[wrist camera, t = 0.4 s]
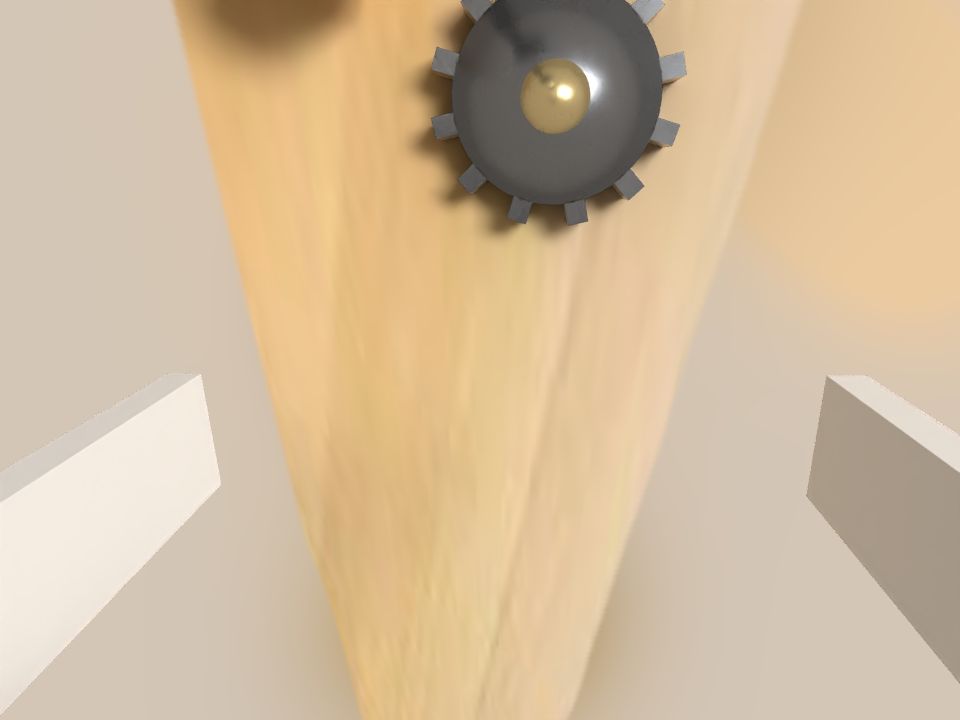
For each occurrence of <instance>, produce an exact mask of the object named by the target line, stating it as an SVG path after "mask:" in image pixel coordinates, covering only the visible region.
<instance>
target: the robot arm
mask: <svg viewBox="0 0 960 720" xmlns="http://www.w3.org/2000/svg"><path fill="white" fill-rule="evenodd" d="M208 416H209V415H208V410H207V405H206V399H205V394H204V388H203V384H202V378H201V374H166V375H165V376H163V377H161V378H159V379H157V380H156V381H154V382H152V383H151V384H149V385H147V386H145V387H144V388H142V389H140V390H139V391H137V392H135V393H133V394H132V395H130V396H128V397H127V398H125V399H123V400H122V401H120V402H118V403H116V404H115V405H113V406H111V407H110V408H108V409H107V410H105V411H103V412H101V413H99V414H98V415H96V416H94V417H92V418H91V419H89V420H87V421H86V422H84V423H82V424H81V425H79V426H77V427H75V428H74V429H72V430H70V431H69V432H67V433H65V434H64V435H62V436H60V437H58V438H57V439H55V440H53V441H51V442H50V443H48V444H46V445H45V446H43V447H41V448H40V449H38V450H37V451H34V452H33V453H31V454H29V455H28V456H26V457H24V458H22V459H21V460H19V461H17V462H16V463H14V464H12V465H11V466H9V467H7V468H5V469H4V470H2V471H0V715H1V714H2V713H3V712H4V711H5V710H6V709H7V708H8V706H10V704H11V703H12V702H13V701H14V700H15V699H16V698H17V697H18V696H19V695H20V694H21V693H22V692H23V691H24V690H25V689H26V688H27V687H28V686H29V685H30V683H32V682H33V680H34V679H35V678H36V677H37V676H38V675H39V674H40V673H41V672H42V671H43V670H44V669H45V668H46V667H47V666H48V665H49V664H50V663H51V662H52V661H53V660H54V659H55V658H56V656H57V655H58V654H59V653H60V652H61V651H62V650H63V649H64V648H65V647H66V646H67V645H68V644H69V643H70V642H71V641H72V640H73V639H74V638H75V636H77V635H78V634H79V632H80V631H81V630H82V629H83V628H84V627H85V626H86V625H87V624H88V623H89V622H90V621H91V620H92V619H93V618H94V617H95V616H96V615H97V614H98V613H99V612H100V610H102V608H103V607H104V606H105V605H106V604H107V603H108V602H109V601H110V600H111V599H112V598H113V597H114V596H115V595H116V594H117V593H118V592H119V591H120V590H121V589H122V588H123V586H125V584H126V583H127V582H128V581H129V580H130V579H131V578H132V577H133V576H134V575H135V574H136V573H137V572H138V571H139V570H140V569H141V568H142V567H143V566H144V565H145V564H146V563H147V562H148V560H149V559H150V558H151V557H152V556H153V555H154V554H155V553H156V552H157V551H158V550H159V549H160V548H161V547H162V546H163V545H164V544H165V542H167V541H168V539H169V538H171V536H172V535H173V534H174V533H175V532H176V531H177V530H178V529H179V528H180V527H181V526H182V525H183V524H184V523H185V522H186V521H187V520H188V519H189V518H190V517H191V516H192V515H193V513H194V512H195V511H196V510H197V509H198V508H199V507H200V506H201V505H202V504H203V503H204V502H205V501H206V500H207V499H208V498H209V497H210V496H211V495H212V494H213V493H214V492H215V491H216V490H217V488H218V487H219V486H220V485H221V480H220V475H219V470H218V464H217V459H216V453H215V448H214V443H213V437H212V432H211V426H210V421H209V417H208ZM807 497H808V499H809V500H810V501H811V502H812V503H813V505H814V506H815V507H816V508H817V510H818V511H819V512H820V513H821V514H822V515H823V517H824V518H825V519H826V521H827V522H828V523H829V524H830V525H831V527H832V528H833V529H834V530H835V531H836V533H837V534H838V535H839V536H840V538H841V539H842V540H843V541H844V543H845V544H846V545H847V546H848V547H849V549H850V550H851V551H852V552H853V554H854V555H855V556H856V557H857V559H858V560H859V561H860V562H861V563H862V565H863V566H864V567H865V568H866V569H867V571H868V572H869V573H870V574H871V576H872V577H873V578H874V579H875V581H876V582H877V583H878V584H879V585H880V587H881V588H882V589H883V590H884V591H885V592H886V594H887V595H888V596H889V598H890V599H891V600H892V601H893V602H894V604H895V605H896V606H897V607H898V609H899V610H900V611H901V612H902V613H903V615H904V616H905V617H906V618H907V620H908V621H909V622H910V623H911V624H912V626H913V627H914V628H915V629H916V631H917V632H918V633H919V634H920V635H921V637H922V638H923V639H924V640H925V641H926V643H927V644H928V645H929V647H930V648H931V649H932V650H933V651H934V653H935V654H936V655H937V656H938V658H939V659H940V660H941V661H942V662H943V664H944V665H945V666H946V667H947V668H948V670H949V671H950V672H951V673H952V675H953V676H954V677H955V678H956V679H957V681H958V682H959V683H960V435H958V434H956V433H955V432H953V431H952V430H950V429H949V428H947V427H946V426H944V425H943V424H941V423H940V422H938V421H937V420H935V419H933V418H932V417H930V416H929V415H927V414H926V413H924V412H922V411H921V410H919V409H918V408H916V407H915V406H913V405H912V404H910V403H908V402H907V401H905V400H904V399H902V398H901V397H899V396H898V395H896V394H894V393H893V392H891V391H890V390H888V389H887V388H885V387H884V386H882V385H881V384H879V383H877V382H876V381H874V380H873V379H871V378H870V377H868V376H828V375H827V376H826V382H825V388H824V394H823V400H822V405H821V412H820V417H819V423H818V430H817V436H816V442H815V448H814V454H813V460H812V466H811V472H810V478H809V484H808V490H807Z"/></svg>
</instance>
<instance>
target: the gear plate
mask: <svg viewBox="0 0 960 720" xmlns="http://www.w3.org/2000/svg"><path fill="white" fill-rule="evenodd" d="M461 4H462V6H463V9H464V11H465V13H466V14H467V15H468V17H469V18H470V19H471V20H472V21H473V22H474V26H473V27H472V29H471V31H470V32H469V34H468V35H467V37H466V39H465V41H464V44H463V46H462V48H461V50H460V53H459V54H458V53H455V52H452V51H449V50H445V49H442V48H439V47H437V48H436V52H435V56H434V60H433V64H432V68H431V69H432V70H433V71H434V72H435V73H436V74H437V75H438V76H441V77H444V78H448V79H451V80H453V83H452V110H453V112H452V113H448V114H444V115H440V116H437V117H433V118H431V120H432V124H433V129H434V133H435V137H436V139H437V140H441V141H443V140H447V139H451V138H455V137H459V139H460V141H461V143H462V145H463V148H464V150H465V152H466V153H467V155H468V157H469V158H470V160H471V162H472V163H473V164H472V165H471V166H470V167H469V168H468V169H467V170H466V171H465V172H464V173H463V174H462V175H461V176H460V177H459V178H458V179H457V180H458V181H459V182H460V183H461V184H462V186H463V187H464V188H465V189H466V190H467V191H468V192H469V193H470V194H473V193H475V192H476V191H477V190H478V189H479V188H480V187H481V186H482V185H483V184H484V183H485V182H486V181H487V180H488V181H489V182H491V183H492V184H493V185H495V186H496V187H497V188H499V189H500V190H502V191H504V192H506V193H507V194H509V195H511V196H514V197H513V200H512V204H511V207H510V210H509V213H508V216H507V218H508V219H511V220H514V221H518V222H521V223H524V224H526V221H527V218H528V215H529V212H530V209H531V206H532V203H538V204H548V205H551V204H563V206H564V212H565V217H566V222H567V224H568V226H570V225H574V224H579V223H583V222H588V217H587V211H586V206H585V200H584V199H586V198H589V197H591V196H593V195H595V194H598V193H600V192H602V191H603V190H605V189H606V188H608V187H610V186H611V185H612V186H613V188H614V189H615V190H616V191H617V192H618V194H619V195H620V196H621V197H622V198H623V199H626V200H630V199H631V198H632V197H633V196H634V195H635V194H636V193H637V192H639V191H640V190H641V189H642V188H643V187H644V185H643V184H642V182H641V181H640V180H639V179H638V178H637V176H636V175H635V174H634V173H633V172H632V170H631V169H630V168H631V167H632V166H633V165H634V164H635V162H636V161H637V160H638V159H639V157H640V156H641V155H642V153H643V151H644V149H645V148H646V146H647V144H648V143H651V144H654V145H657V146H660V147H670V146H672V145H673V143H674V140H675V137H676V135H677V132H678V130H679V127H680V125H679V124H676V123H673V122H670V121H667V120H664V119H661V118H658V116H659V112H660V106H661V101H662V85H663V84H666V83H669V82H673V81H677V80H678V79H680V78H682V77H683V76H685V75H687V73H686V65H685V57H684V51H683V52H680V53H676V54H672V55H668V56H664V57H661V58H659V54H658V51H657V48H656V45H655V42H654V40H653V38H652V36H651V34H650V32H649V29H648V27H647V26H646V25H647V24H648V23H649V22H650V21H651V20H652V19H653V18H654V17H655V16H656V15H657V14H658V12H659V11H660V10H661V9H662V8H663V6H664V5H665V4H664V3H663V1H662V0H637V1H636V2H635V3H634V4H633V5H632V6H631V5H630V4H629V3H628V2H626V1H625V0H497V1H496V2H494V3H493V4H492V3H491V2H490V1H489V0H462V1H461Z"/></svg>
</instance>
